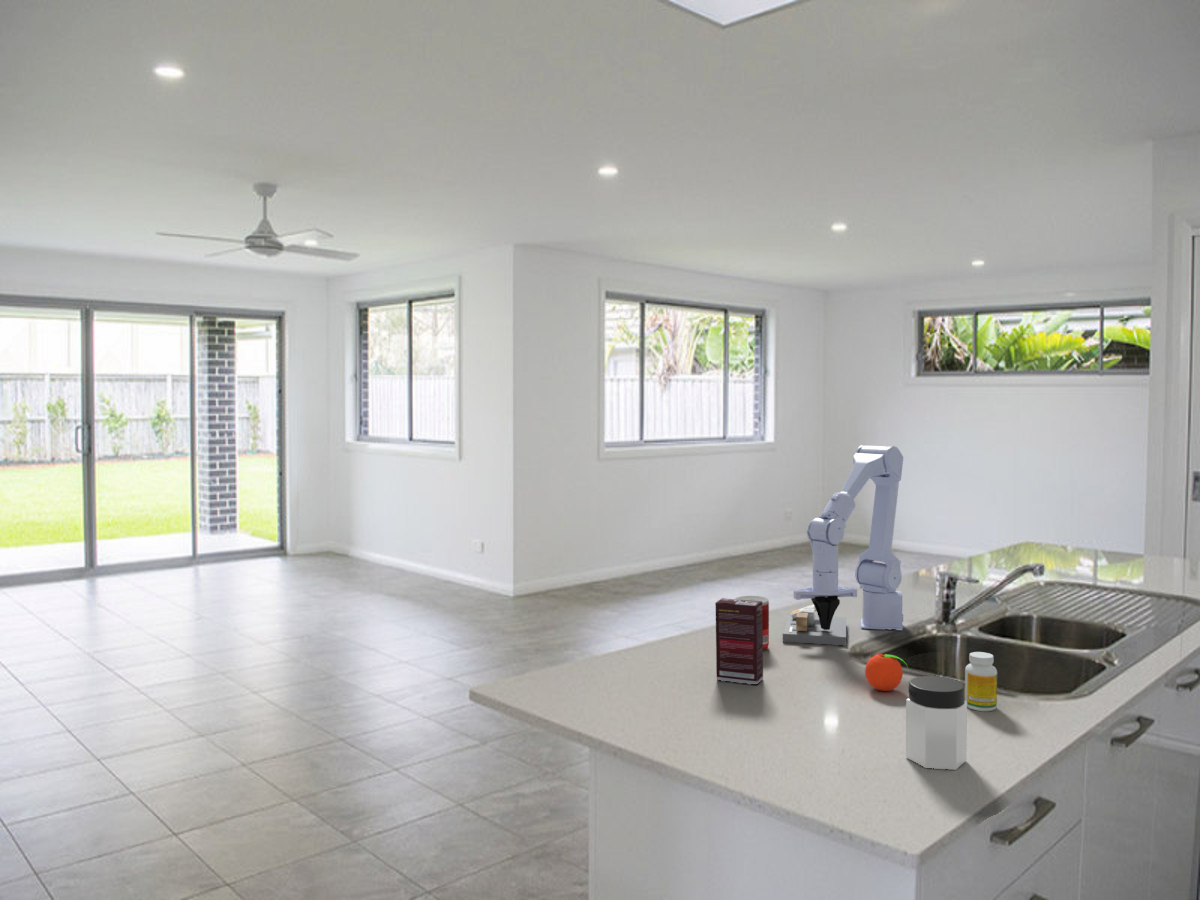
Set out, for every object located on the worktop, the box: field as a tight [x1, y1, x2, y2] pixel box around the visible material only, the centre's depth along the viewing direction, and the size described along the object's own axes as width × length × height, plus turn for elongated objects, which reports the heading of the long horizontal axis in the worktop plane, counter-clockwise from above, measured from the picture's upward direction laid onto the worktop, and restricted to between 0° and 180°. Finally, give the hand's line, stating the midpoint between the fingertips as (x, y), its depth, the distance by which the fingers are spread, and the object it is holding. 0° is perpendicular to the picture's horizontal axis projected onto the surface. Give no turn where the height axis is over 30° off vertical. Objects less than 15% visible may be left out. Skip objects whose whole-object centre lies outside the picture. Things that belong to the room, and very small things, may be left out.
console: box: [782, 613, 847, 646], centre depth 217 cm, size 14×19×3 cm
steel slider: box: [803, 607, 816, 626], centre depth 217 cm, size 2×4×3 cm, turn 165°
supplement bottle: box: [964, 651, 998, 712], centre depth 165 cm, size 5×5×10 cm
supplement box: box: [714, 597, 764, 685], centre depth 182 cm, size 9×5×16 cm, turn 65°
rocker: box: [790, 603, 817, 618], centre depth 223 cm, size 8×4×1 cm, turn 74°
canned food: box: [734, 595, 770, 652], centre depth 205 cm, size 8×8×11 cm
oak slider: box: [796, 613, 808, 631], centre depth 212 cm, size 2×4×3 cm, turn 165°
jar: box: [905, 675, 968, 771], centre depth 141 cm, size 9×8×12 cm
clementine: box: [864, 653, 909, 692], centre depth 175 cm, size 8×7×7 cm
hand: (825, 628), depth 211 cm, fingers closed
